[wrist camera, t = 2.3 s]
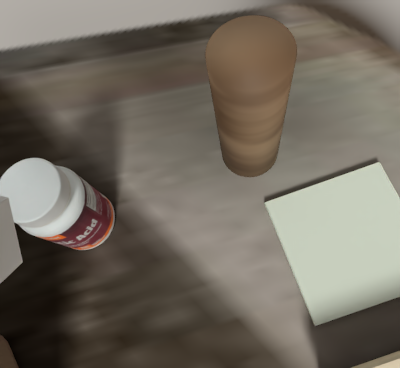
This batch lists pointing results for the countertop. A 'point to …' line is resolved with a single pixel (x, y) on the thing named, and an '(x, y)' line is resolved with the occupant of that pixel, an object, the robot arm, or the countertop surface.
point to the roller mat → (342, 242)
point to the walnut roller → (250, 89)
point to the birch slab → (383, 362)
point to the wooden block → (6, 355)
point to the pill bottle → (57, 204)
